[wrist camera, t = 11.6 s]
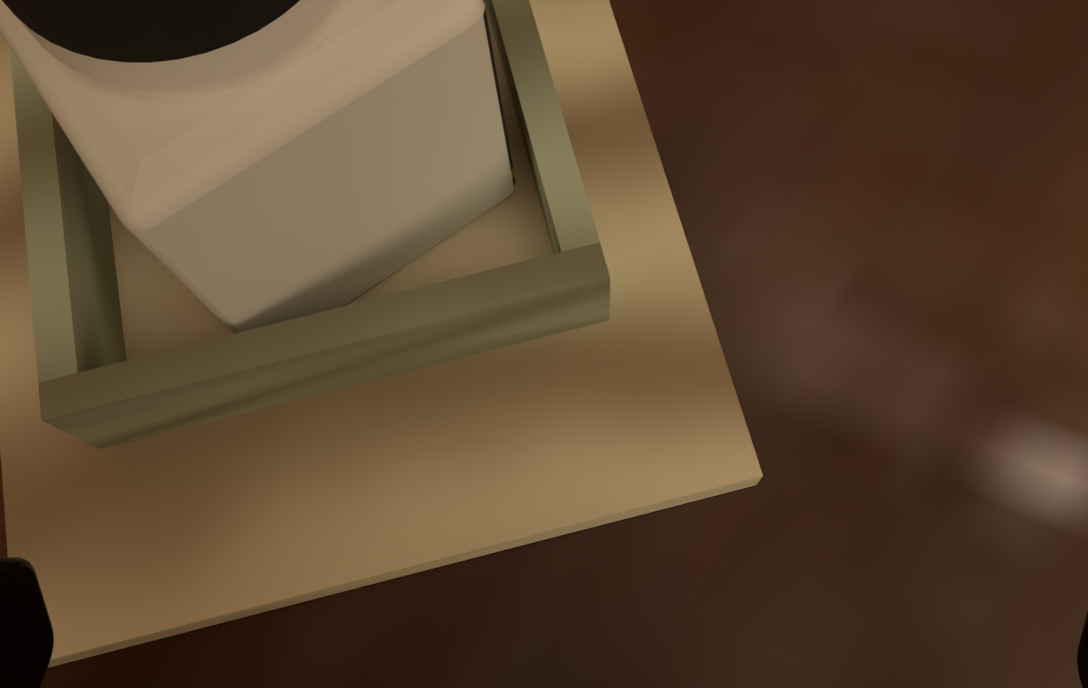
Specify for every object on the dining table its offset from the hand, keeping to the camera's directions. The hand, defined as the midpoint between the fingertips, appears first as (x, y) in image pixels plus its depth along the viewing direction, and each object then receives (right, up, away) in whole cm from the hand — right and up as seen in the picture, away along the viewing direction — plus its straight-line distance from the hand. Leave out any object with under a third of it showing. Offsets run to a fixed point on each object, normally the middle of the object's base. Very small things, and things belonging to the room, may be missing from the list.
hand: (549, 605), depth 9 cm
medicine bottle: (-6, +6, +16) cm, 18 cm away
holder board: (-6, +6, +17) cm, 19 cm away
